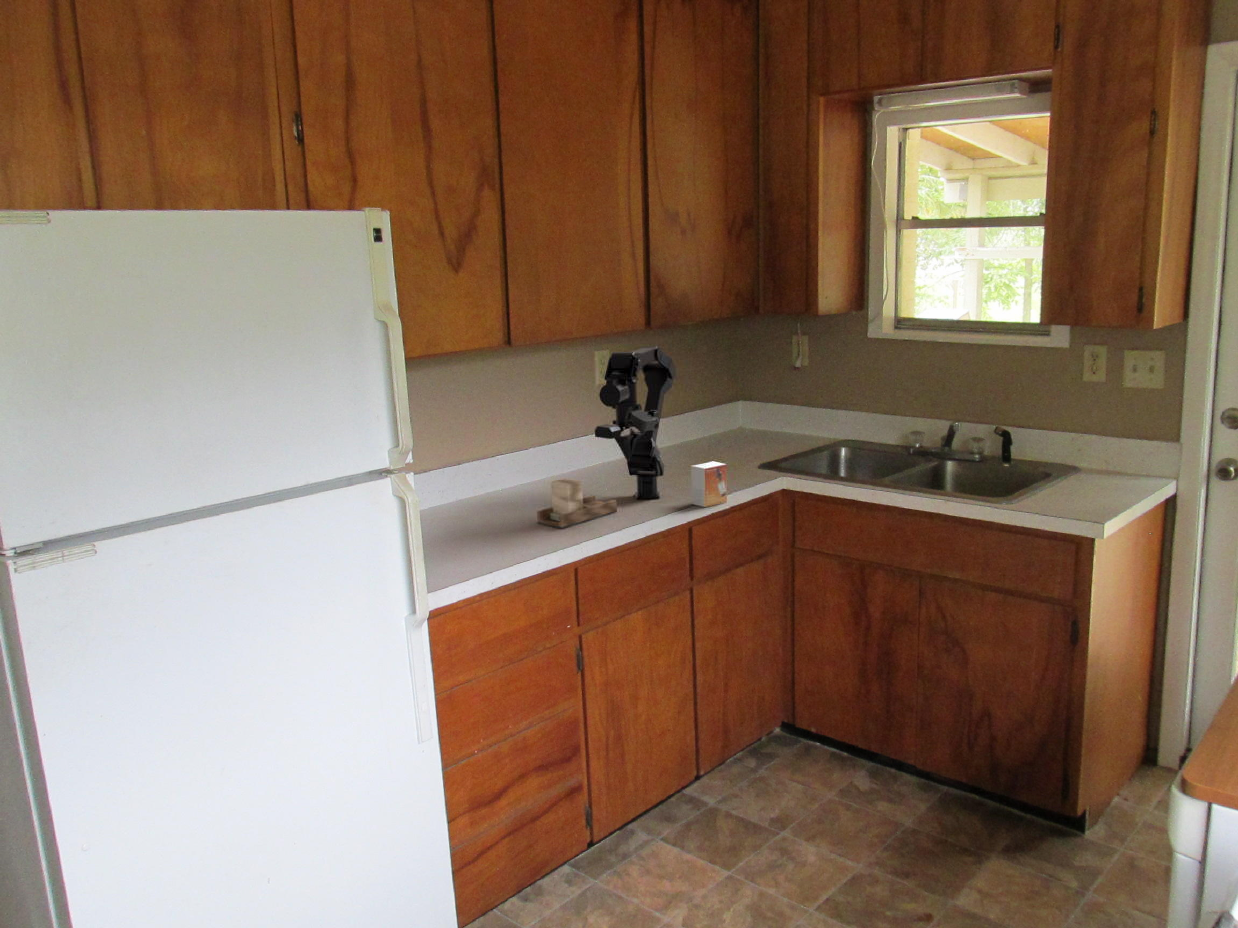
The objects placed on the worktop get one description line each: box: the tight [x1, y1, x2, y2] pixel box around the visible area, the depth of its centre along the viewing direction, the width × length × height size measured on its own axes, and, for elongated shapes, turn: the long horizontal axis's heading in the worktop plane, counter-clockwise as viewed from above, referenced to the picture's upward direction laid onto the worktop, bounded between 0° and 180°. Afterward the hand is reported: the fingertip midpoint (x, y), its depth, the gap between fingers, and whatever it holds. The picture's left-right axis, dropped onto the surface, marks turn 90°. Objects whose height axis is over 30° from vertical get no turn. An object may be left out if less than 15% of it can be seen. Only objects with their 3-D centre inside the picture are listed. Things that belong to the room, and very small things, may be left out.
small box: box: [690, 460, 728, 508], centre depth 274 cm, size 8×6×10 cm
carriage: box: [550, 477, 584, 515], centre depth 262 cm, size 5×6×8 cm
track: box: [536, 495, 618, 530], centre depth 266 cm, size 20×9×3 cm, turn 136°
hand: (628, 459), depth 271 cm, fingers closed
